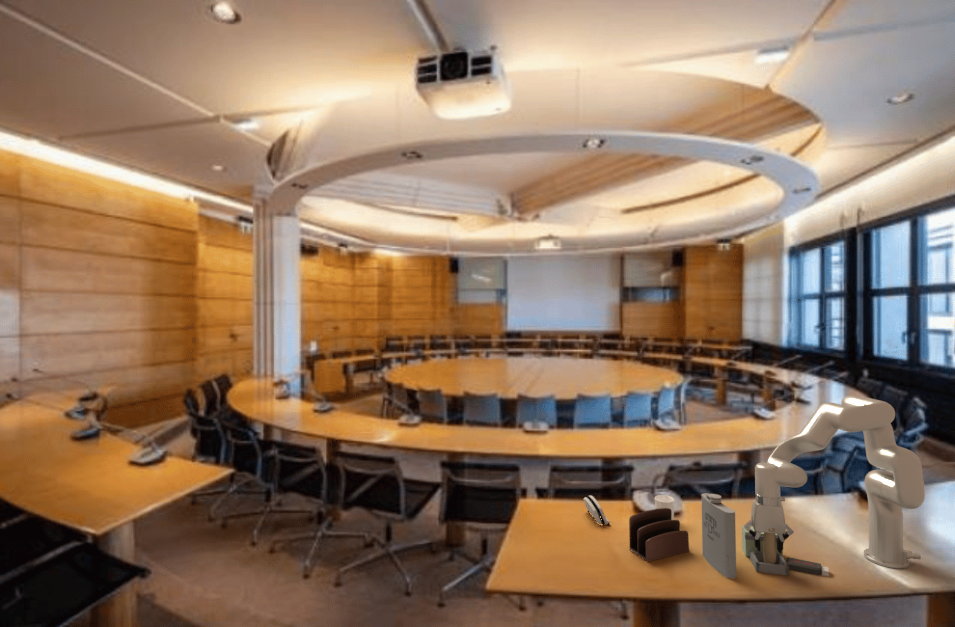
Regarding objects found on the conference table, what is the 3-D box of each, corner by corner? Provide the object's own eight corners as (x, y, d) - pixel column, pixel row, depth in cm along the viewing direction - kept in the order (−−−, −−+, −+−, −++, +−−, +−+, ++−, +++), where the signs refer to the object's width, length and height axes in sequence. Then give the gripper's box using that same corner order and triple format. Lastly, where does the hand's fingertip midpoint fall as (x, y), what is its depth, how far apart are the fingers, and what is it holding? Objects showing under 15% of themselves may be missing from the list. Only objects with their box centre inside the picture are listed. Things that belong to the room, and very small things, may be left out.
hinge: (611, 526, 208) (603, 504, 208) (601, 530, 208) (593, 508, 208) (597, 510, 225) (590, 489, 225) (588, 514, 225) (580, 494, 224)
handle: (757, 562, 177) (757, 520, 177) (778, 564, 175) (778, 522, 174) (760, 568, 172) (760, 526, 172) (781, 571, 170) (781, 528, 170)
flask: (698, 553, 184) (697, 486, 184) (710, 552, 184) (709, 486, 184) (725, 579, 166) (723, 505, 166) (738, 578, 167) (736, 504, 166)
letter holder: (629, 550, 188) (628, 513, 188) (670, 540, 195) (669, 505, 195) (646, 562, 179) (645, 524, 178) (689, 551, 186) (688, 514, 185)
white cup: (676, 520, 212) (676, 497, 212) (672, 527, 206) (672, 503, 206) (657, 516, 217) (657, 493, 217) (653, 523, 210) (652, 500, 210)
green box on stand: (778, 552, 183) (778, 528, 183) (793, 576, 167) (792, 549, 167) (741, 548, 187) (741, 525, 187) (752, 571, 171) (752, 545, 171)
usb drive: (786, 563, 176) (786, 555, 176) (827, 571, 170) (827, 563, 170) (787, 569, 172) (787, 562, 172) (829, 578, 166) (829, 570, 166)
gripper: (792, 497, 174) (793, 548, 174) (738, 493, 179) (739, 542, 179) (799, 505, 167) (800, 558, 167) (743, 501, 172) (743, 552, 172)
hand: (768, 549), depth 173 cm, fingers open, 6 cm apart
